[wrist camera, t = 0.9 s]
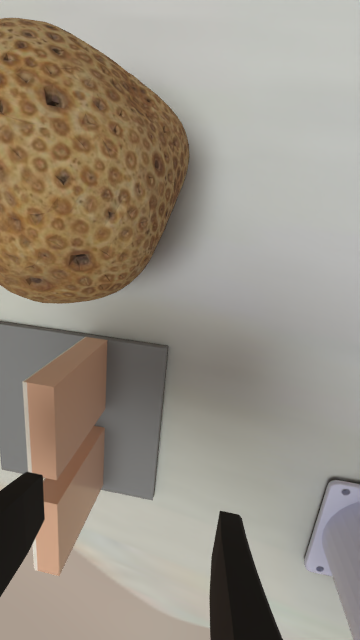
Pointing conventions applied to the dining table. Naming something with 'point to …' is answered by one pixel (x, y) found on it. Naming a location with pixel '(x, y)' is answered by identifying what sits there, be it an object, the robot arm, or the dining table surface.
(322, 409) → the dining table surface
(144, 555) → the dining table surface
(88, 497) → the tile
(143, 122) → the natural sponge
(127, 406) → the mat
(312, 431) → the dining table surface
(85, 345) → the tile
